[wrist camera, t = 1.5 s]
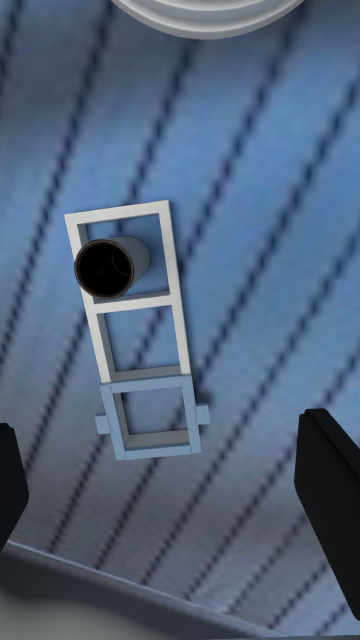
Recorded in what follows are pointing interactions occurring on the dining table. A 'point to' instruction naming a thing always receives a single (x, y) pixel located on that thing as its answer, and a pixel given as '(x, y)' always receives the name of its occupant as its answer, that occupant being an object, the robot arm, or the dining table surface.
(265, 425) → the dining table surface
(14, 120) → the dining table surface
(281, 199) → the dining table surface
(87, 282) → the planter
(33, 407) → the dining table surface
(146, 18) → the plate stack
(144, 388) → the white ladder frame
